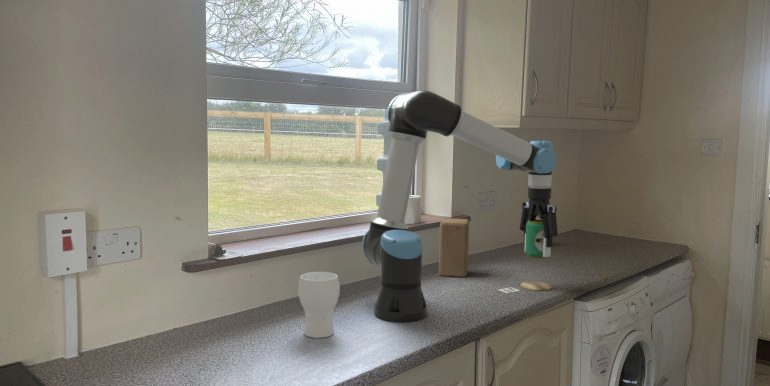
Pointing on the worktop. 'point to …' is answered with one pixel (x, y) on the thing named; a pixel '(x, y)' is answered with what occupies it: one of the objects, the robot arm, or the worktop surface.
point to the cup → (318, 302)
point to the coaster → (535, 286)
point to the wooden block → (453, 247)
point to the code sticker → (508, 290)
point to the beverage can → (534, 239)
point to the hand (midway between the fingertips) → (537, 254)
